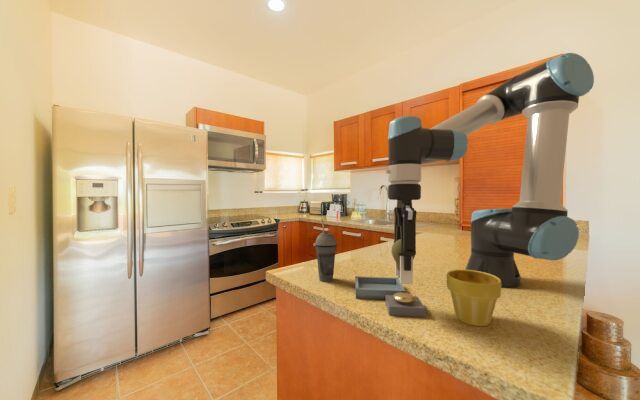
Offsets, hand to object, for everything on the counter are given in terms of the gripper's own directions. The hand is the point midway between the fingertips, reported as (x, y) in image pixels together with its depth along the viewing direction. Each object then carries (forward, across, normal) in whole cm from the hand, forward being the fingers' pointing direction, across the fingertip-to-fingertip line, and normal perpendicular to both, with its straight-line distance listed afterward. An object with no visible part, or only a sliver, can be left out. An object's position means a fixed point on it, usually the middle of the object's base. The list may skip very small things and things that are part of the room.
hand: (403, 279), depth 62 cm
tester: (+7, 0, 0) cm, 7 cm away
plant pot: (+8, +3, +14) cm, 17 cm away
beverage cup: (+8, -20, -21) cm, 30 cm away
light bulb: (+1, 0, 0) cm, 1 cm away
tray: (+7, -11, -5) cm, 14 cm away
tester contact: (+5, 0, 0) cm, 5 cm away
